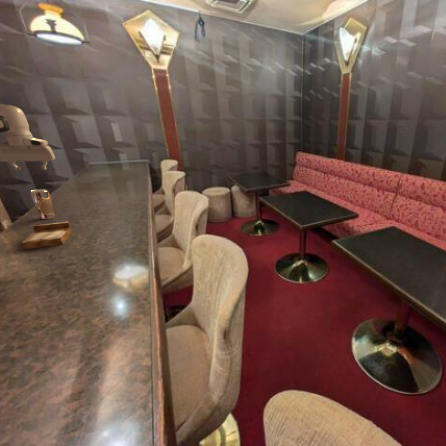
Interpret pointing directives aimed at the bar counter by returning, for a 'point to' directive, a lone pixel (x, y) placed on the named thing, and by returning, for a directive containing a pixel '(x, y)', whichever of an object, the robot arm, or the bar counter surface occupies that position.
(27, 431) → the bar counter surface
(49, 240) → the shallow wooden tray
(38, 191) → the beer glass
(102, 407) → the bar counter surface
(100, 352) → the bar counter surface
